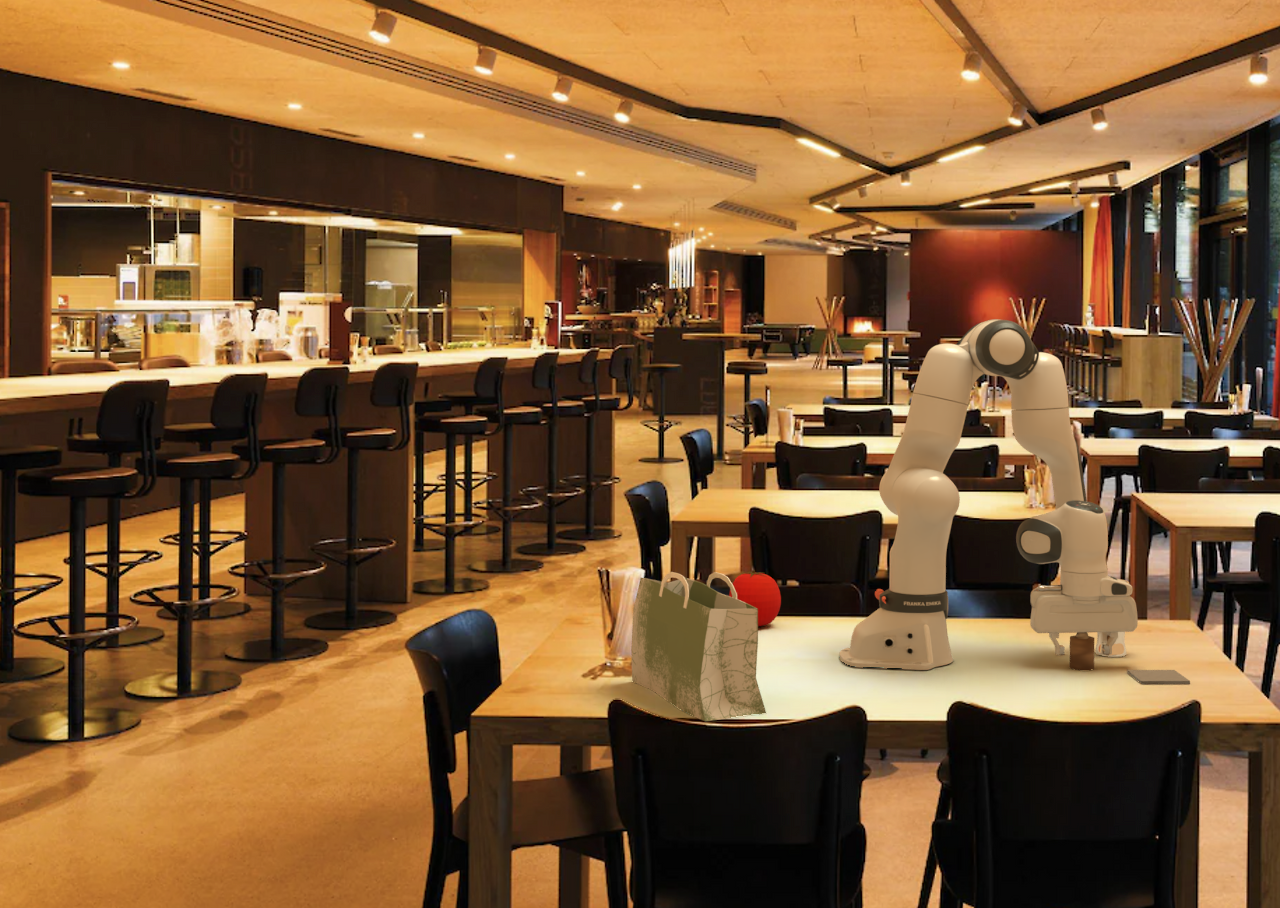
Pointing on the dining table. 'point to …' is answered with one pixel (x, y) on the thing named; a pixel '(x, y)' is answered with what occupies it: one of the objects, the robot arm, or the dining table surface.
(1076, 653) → the pepper mill
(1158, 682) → the coaster
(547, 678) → the dining table surface
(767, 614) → the tomato
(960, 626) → the dining table surface
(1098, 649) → the beer glass
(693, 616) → the grocery bag
